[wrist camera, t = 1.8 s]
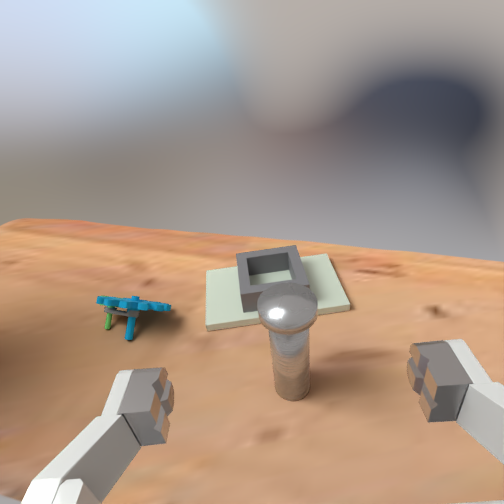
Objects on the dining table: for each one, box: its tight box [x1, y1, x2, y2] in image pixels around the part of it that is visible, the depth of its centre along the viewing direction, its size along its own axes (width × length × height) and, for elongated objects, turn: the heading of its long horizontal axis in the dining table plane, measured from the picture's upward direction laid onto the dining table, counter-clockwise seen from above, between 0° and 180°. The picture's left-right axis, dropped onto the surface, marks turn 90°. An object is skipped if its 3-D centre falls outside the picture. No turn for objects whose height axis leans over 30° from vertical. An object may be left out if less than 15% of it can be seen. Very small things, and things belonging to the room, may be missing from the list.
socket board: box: [206, 245, 350, 331], centre depth 52 cm, size 20×12×5 cm, turn 95°
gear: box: [96, 296, 171, 340], centre depth 49 cm, size 11×6×10 cm
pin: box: [257, 283, 318, 401], centre depth 36 cm, size 6×6×13 cm
